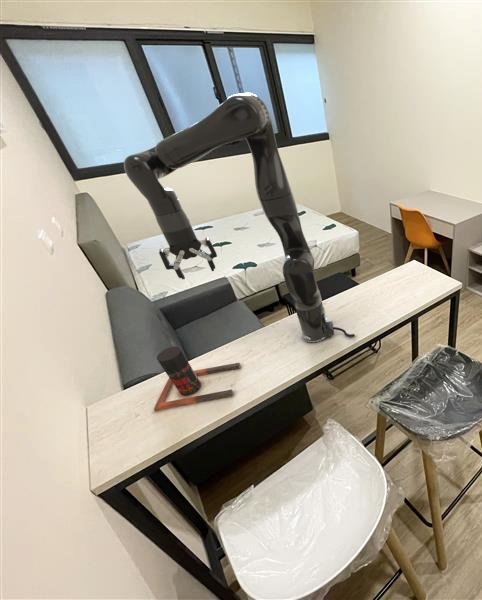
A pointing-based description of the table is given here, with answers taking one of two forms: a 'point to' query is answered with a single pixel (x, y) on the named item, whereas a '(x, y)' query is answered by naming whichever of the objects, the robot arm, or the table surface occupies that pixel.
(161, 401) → the brown angled rods
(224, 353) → the table surface
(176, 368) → the deodorant
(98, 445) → the table surface
